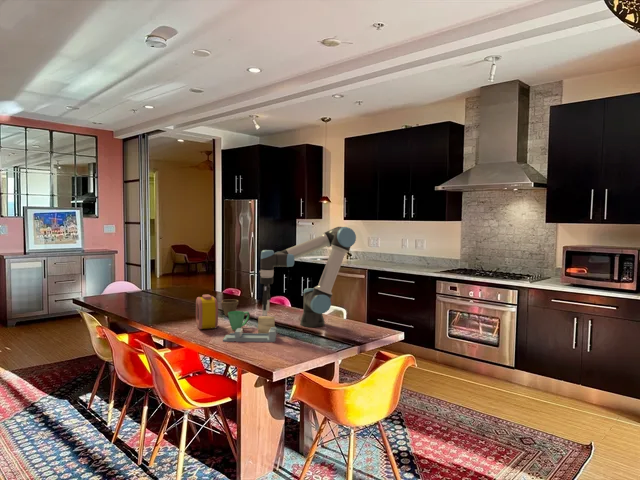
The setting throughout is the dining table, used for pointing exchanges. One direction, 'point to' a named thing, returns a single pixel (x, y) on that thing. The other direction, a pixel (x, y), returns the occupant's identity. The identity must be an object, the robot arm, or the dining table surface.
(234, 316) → the mug
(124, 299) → the dining table surface
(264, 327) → the maple block
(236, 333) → the slide jaw
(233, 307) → the flower pot
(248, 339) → the vise
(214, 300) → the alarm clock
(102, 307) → the dining table surface
